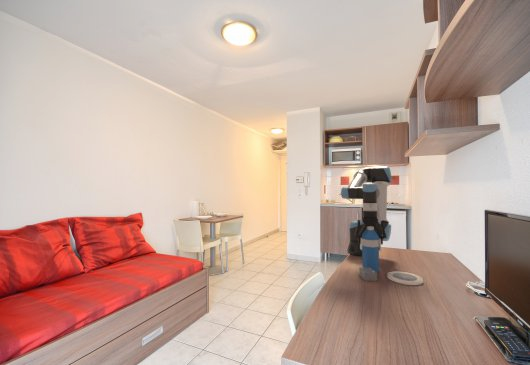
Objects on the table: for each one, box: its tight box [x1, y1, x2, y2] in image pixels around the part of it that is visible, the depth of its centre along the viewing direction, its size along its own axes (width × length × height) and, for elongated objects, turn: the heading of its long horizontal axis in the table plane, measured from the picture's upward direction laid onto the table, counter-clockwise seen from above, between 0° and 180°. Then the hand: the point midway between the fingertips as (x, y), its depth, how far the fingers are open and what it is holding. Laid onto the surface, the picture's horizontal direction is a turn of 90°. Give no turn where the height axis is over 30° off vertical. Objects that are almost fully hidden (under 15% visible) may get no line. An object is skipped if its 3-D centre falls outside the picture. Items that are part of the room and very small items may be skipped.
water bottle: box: [361, 226, 380, 274], centre depth 137 cm, size 9×9×25 cm
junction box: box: [358, 266, 378, 282], centre depth 125 cm, size 8×6×4 cm
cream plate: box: [386, 270, 424, 286], centre depth 123 cm, size 16×16×1 cm
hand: (370, 249), depth 137 cm, fingers closed on water bottle, 9 cm apart
